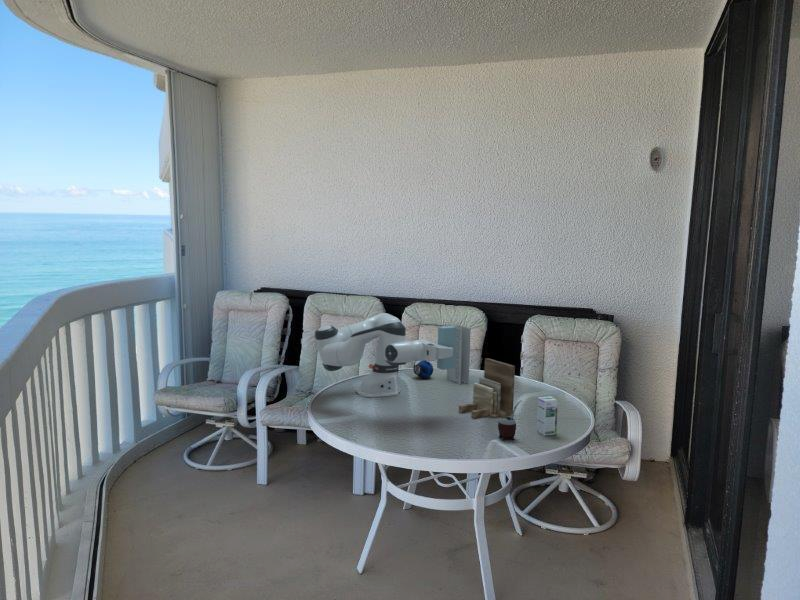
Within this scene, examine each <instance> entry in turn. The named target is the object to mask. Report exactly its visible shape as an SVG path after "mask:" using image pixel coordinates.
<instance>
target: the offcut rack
mask: <svg viewBox="0 0 800 600" xmlns="http://www.w3.org/2000/svg"><path fill="white" fill-rule="evenodd" d="M483 369H484V371H483V372H484V374H483V376H484V377H483V378H486V379H489V380H492V381H495V382H498V383H501V396H500V412H498V413H491V414H490V413H489V409H487V408H484V409H478V408H476V404H474V403H473V402H471V403H467V404H465V403H464V404H460V405H459V404H458V413H460V414H465V413H470V414H471V415H470V416H471V417H470V418H472V419H481V418H487V417H490V418H492V419H497V418H501V417H509V416H512V413H513V411H514V401H515V400H514V394H515V373H516V372H515V370H516V366H515V365H512V364H509V363H506V362H502V361H499V360H496V359H492V358H488V357H487V358H484V368H483Z"/></svg>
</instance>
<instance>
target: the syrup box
mask: <svg viewBox="0 0 800 600" xmlns="http://www.w3.org/2000/svg"><path fill="white" fill-rule="evenodd" d="M558 402H559V401H558V399H557V398H556V397H553V396H538V398H537V417H536V423H537V424H536V432H537V433H538V434H540V435H541V436H544V437H546V436H555V435H558V434H557V430H558V429H557V428H558V409H559V408H558V405H559V403H558Z"/></svg>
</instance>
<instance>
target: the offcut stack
mask: <svg viewBox="0 0 800 600" xmlns="http://www.w3.org/2000/svg"><path fill="white" fill-rule="evenodd" d="M472 389H473V391H472V392H473V393H472V394H473V395H472V403H474V404H476V408H478V409H484V408H487V409H489V413H490V414H491V413H498V412H500V396H501V383H498V382H495V381H492V380H489V379H486V378H484V377H483V376H481V377H479V383H477V382H473V388H472Z"/></svg>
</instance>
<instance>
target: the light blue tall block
mask: <svg viewBox="0 0 800 600" xmlns="http://www.w3.org/2000/svg"><path fill="white" fill-rule="evenodd" d="M453 326H454V325H451V326H448V325H446V326H438V327H437V344H439V345H443V346H447V347H449V346H451V347H453V356H452V357H449V358H444V359H436V368H437V369H439V370H441V371H444V370H447V369H453V368H456V334H457V327H453Z"/></svg>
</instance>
